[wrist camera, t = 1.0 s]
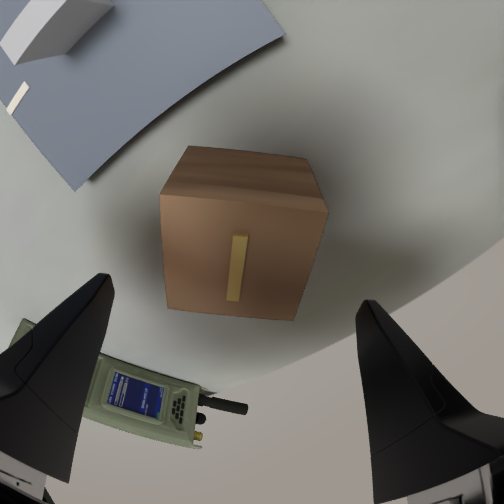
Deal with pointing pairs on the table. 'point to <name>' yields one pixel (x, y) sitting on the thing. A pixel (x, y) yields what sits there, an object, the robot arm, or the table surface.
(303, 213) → the taped cardboard box
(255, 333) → the table surface
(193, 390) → the handheld radio
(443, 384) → the robot arm
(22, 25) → the light switch plate
